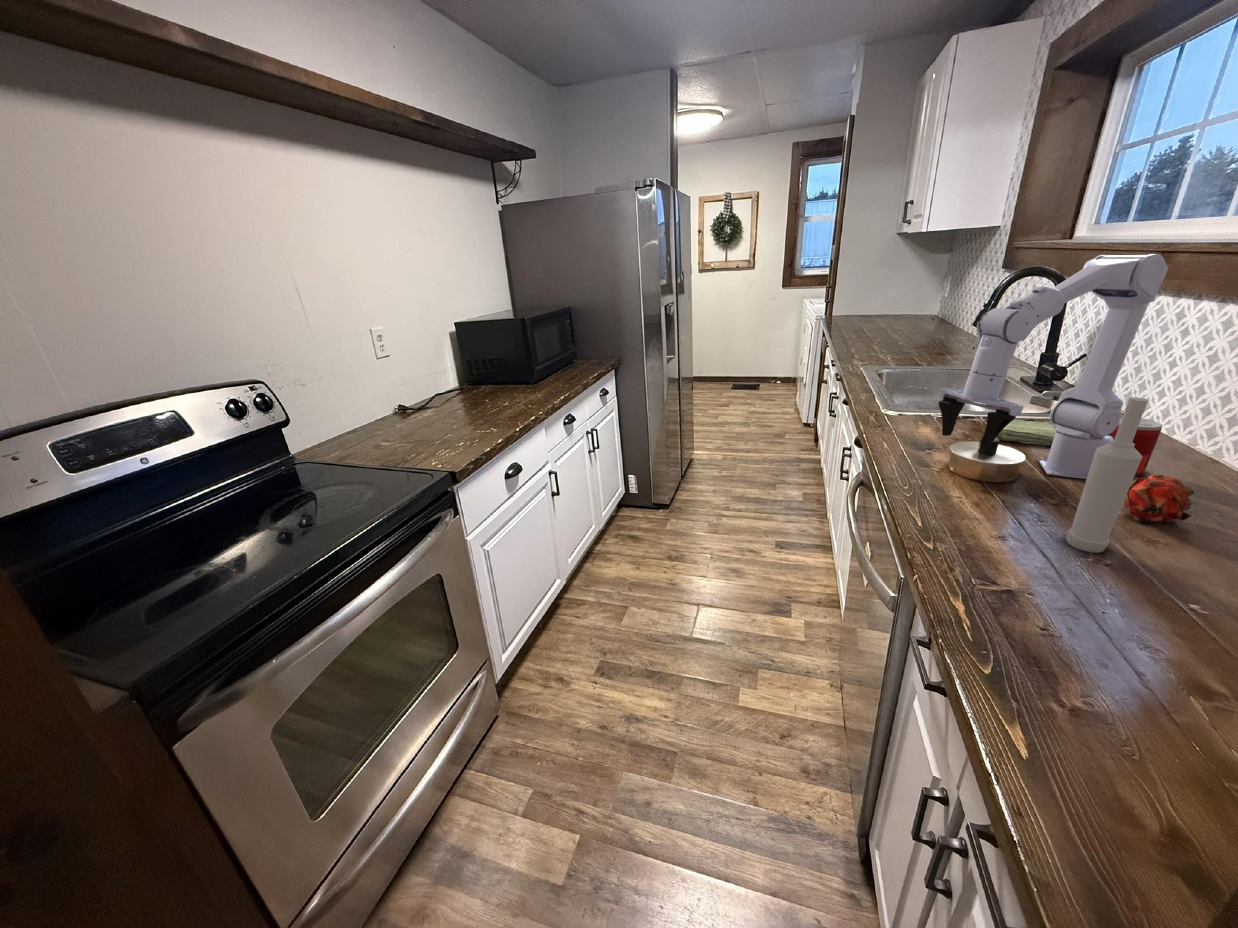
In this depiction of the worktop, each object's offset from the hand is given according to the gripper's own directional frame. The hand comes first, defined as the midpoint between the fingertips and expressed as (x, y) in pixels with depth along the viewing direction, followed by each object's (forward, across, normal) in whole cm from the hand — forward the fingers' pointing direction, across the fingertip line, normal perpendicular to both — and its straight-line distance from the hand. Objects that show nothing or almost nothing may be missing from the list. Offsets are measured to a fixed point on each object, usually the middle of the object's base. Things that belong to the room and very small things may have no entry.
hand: (964, 441), depth 100 cm
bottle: (+10, +24, -2) cm, 26 cm away
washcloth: (+6, -8, +46) cm, 47 cm away
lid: (+5, -2, +14) cm, 15 cm away
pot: (+9, -2, +15) cm, 17 cm away
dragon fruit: (+8, +25, +18) cm, 32 cm away
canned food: (+6, +12, +39) cm, 41 cm away
